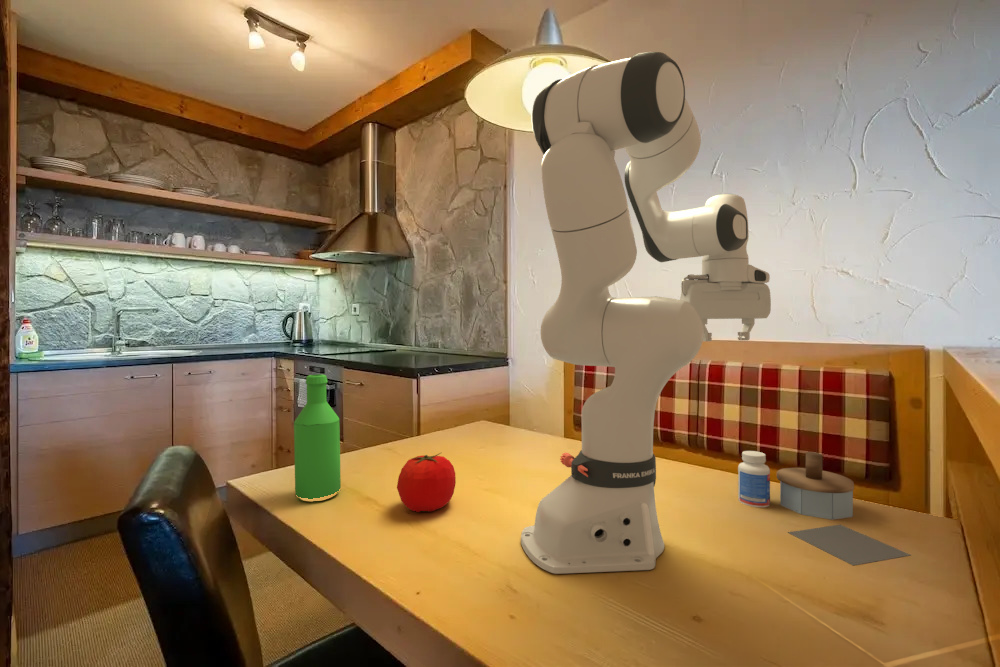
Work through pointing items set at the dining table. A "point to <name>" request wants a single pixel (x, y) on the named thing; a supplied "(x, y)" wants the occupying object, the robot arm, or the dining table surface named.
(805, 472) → the lid
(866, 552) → the mat
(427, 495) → the tomato
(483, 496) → the dining table surface
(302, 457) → the bottle
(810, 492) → the bowl
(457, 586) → the dining table surface
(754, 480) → the pill bottle
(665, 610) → the dining table surface
